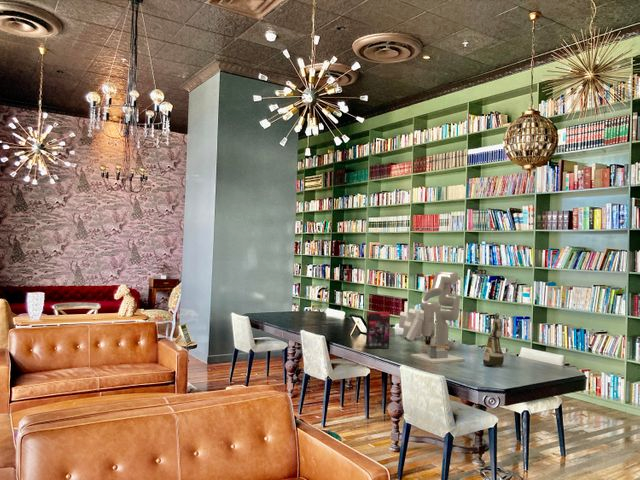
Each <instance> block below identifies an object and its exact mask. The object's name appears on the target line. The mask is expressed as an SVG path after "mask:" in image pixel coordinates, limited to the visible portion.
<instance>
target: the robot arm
mask: <svg viewBox="0 0 640 480" xmlns="http://www.w3.org/2000/svg"><path fill="white" fill-rule="evenodd" d="M458 279H459V274H458V272H456V271H447V270H446V271H445V270H439V271H436V272H435V275H434V277H433V281H432V285H431V288H430V289H429V290H427V292H425V293H424V294H423V296H422V299H421V301H420V309H421V310H423V311H424V319H423V322H422V329H421V335H422V336H423V337H424V339H425V343H424V344H431V341H432V340H433V339H434V337H435V342H434V343H435V344H434V345H444V346H445V344H448V346H449V348H448V351H449V350H450V349H451V347H452V346H453V344H454V343H452V342H450V343H449V327H450V326H449V324H448V322H450V321H451V322H456V321H458V319H459V315H460V314H459V313H460V297H459V295H458V294H454V293H451V286H452V285H455V284H456V283H457V282H458ZM437 296H438V301H430V300H429V299H431V298H434V297H437ZM450 307H451V308H450ZM447 321H448V322H447ZM431 339H432V340H431ZM430 340H431V341H430ZM441 349H445V348H441Z"/></svg>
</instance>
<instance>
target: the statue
mask: <svg viewBox="0 0 640 480" xmlns="http://www.w3.org/2000/svg"><path fill="white" fill-rule="evenodd" d="M492 321H493V322H492V325H493V326H492V329H491V332H490V334H489V336H488V338H487V341H486V346H485V348H484V349H483V354H482V362H483V365H484V366H487V367H488V366H492V367H493V366H501V365H503V364H504V359H505V357H504V354H503V351H502V347H501V341H500V338H501V337H502V335H503V333H502V332H503V329H502V328H503V320H502V318H500V314H499V313H498V312H497V313H496V312H495V314H494V319H493V320H492Z"/></svg>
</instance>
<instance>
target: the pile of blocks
mask: <svg viewBox="0 0 640 480" xmlns="http://www.w3.org/2000/svg"><path fill="white" fill-rule="evenodd" d="M423 319H424V311H423V310H421V308H420V309H419V308H416V309H414V308H409V310H408V312H404V311H400V313H399V321H398V327H399V328H400V329H403V332H402V335H404V336H405V338H406V339H408V340H409V341H412V342H413V341H414V340H415V338H417V337H418V338H421V335H422V334H421V329H422V322H423ZM432 340H433V338H432V339H431V340H430V342H431V341H432Z"/></svg>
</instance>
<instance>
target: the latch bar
mask: <svg viewBox="0 0 640 480" xmlns="http://www.w3.org/2000/svg"><path fill="white" fill-rule="evenodd" d="M422 345H423V347H425V348H429V347H428V345H434V346H436V348H446V349H448V348H449V347H450V346H448V344H445V346H444V345H435V344H431V343H430V344H425V343H423V344H422Z"/></svg>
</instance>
